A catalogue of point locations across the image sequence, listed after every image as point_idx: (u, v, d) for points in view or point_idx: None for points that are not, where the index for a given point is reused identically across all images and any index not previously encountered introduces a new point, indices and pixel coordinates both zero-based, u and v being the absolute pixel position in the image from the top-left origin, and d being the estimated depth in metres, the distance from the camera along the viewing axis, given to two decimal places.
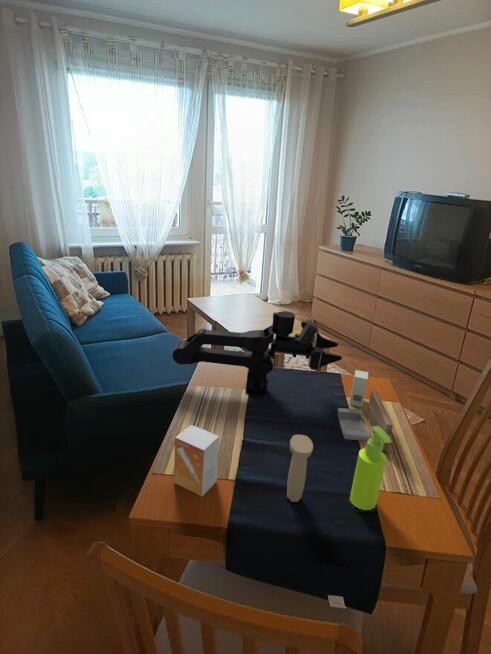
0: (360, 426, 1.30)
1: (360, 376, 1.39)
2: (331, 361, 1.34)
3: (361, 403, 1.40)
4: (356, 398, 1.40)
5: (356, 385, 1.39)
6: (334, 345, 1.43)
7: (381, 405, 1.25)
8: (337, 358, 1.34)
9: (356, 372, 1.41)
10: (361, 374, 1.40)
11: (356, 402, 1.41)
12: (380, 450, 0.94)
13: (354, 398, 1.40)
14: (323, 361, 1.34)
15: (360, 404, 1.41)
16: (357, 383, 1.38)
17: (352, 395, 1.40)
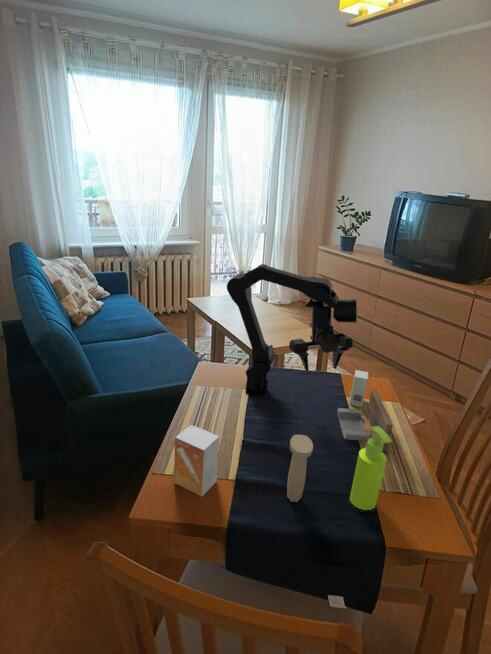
0: (360, 426, 1.30)
1: (360, 376, 1.39)
2: (302, 361, 1.35)
3: (361, 403, 1.40)
4: (356, 398, 1.40)
5: (356, 385, 1.39)
6: (333, 365, 1.37)
7: (381, 405, 1.25)
8: (304, 367, 1.34)
9: (356, 372, 1.41)
10: (361, 374, 1.40)
11: (356, 402, 1.41)
12: (380, 450, 0.94)
13: (354, 398, 1.40)
14: None
15: (360, 404, 1.41)
16: (357, 383, 1.38)
17: (352, 395, 1.40)
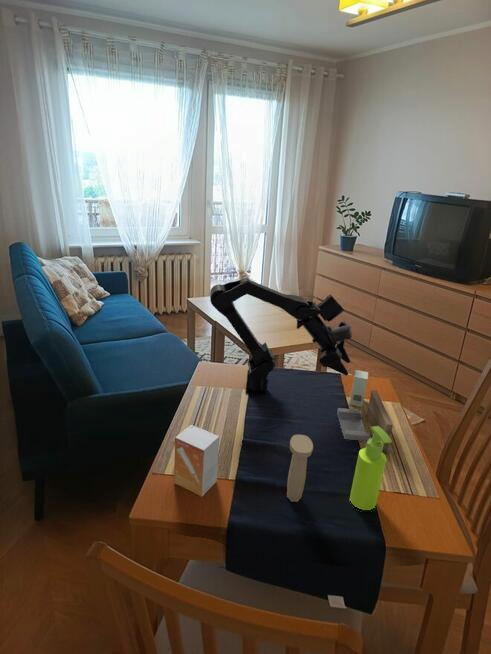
0: (360, 426, 1.30)
1: (360, 376, 1.39)
2: (338, 370, 1.36)
3: (361, 403, 1.40)
4: (356, 398, 1.39)
5: (356, 385, 1.39)
6: (346, 360, 1.44)
7: (381, 405, 1.25)
8: (344, 372, 1.36)
9: (356, 372, 1.41)
10: (361, 374, 1.40)
11: (356, 402, 1.41)
12: (380, 450, 0.94)
13: (354, 398, 1.40)
14: (332, 364, 1.35)
15: (360, 404, 1.41)
16: (357, 383, 1.38)
17: (352, 395, 1.40)
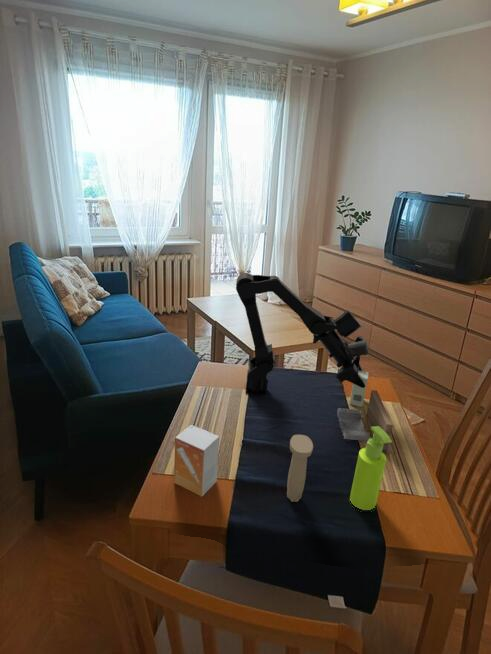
0: (360, 426, 1.30)
1: (360, 376, 1.39)
2: (355, 382, 1.37)
3: (361, 403, 1.40)
4: (356, 398, 1.39)
5: (356, 385, 1.39)
6: None
7: (381, 405, 1.25)
8: (361, 384, 1.37)
9: None
10: (361, 374, 1.40)
11: (356, 402, 1.41)
12: (380, 450, 0.94)
13: (354, 398, 1.40)
14: (349, 377, 1.37)
15: (360, 404, 1.41)
16: None
17: (352, 395, 1.40)
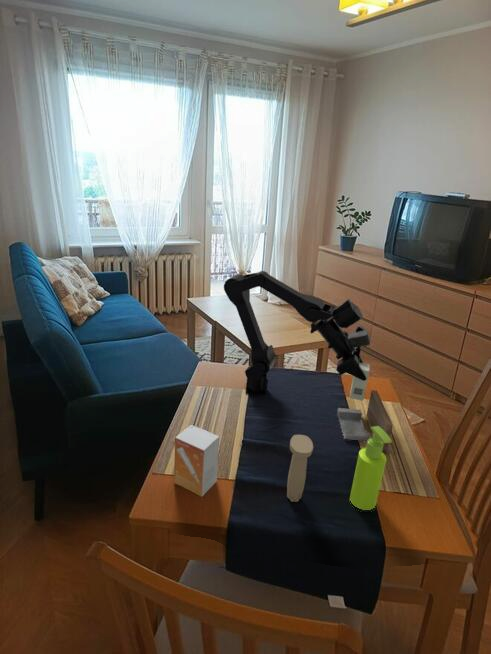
0: (360, 426, 1.30)
1: (361, 368, 1.30)
2: (355, 375, 1.29)
3: (362, 397, 1.32)
4: (357, 392, 1.31)
5: (357, 378, 1.31)
6: None
7: (381, 405, 1.25)
8: (362, 377, 1.29)
9: None
10: (362, 366, 1.32)
11: (357, 396, 1.33)
12: (380, 450, 0.94)
13: (355, 392, 1.31)
14: (350, 369, 1.28)
15: (361, 398, 1.32)
16: None
17: (352, 388, 1.32)
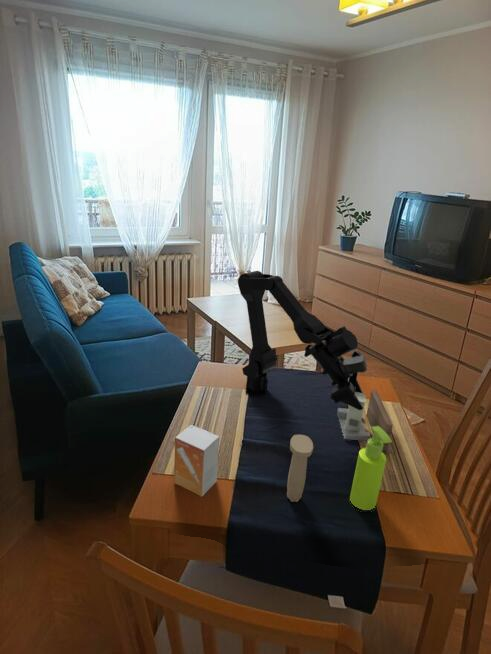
0: (360, 426, 1.30)
1: None
2: (351, 404, 1.22)
3: (358, 428, 1.26)
4: (352, 423, 1.26)
5: (352, 409, 1.25)
6: None
7: (381, 405, 1.25)
8: (358, 406, 1.22)
9: None
10: (357, 396, 1.26)
11: (352, 427, 1.27)
12: (380, 450, 0.94)
13: (350, 423, 1.26)
14: (345, 398, 1.21)
15: (357, 429, 1.27)
16: None
17: (348, 419, 1.26)
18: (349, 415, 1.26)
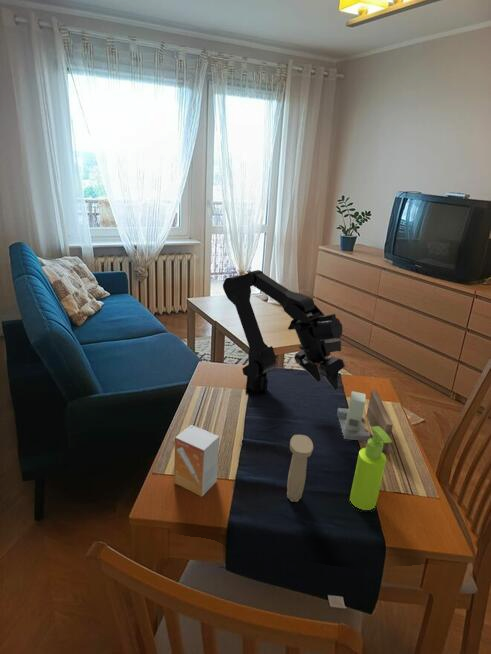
0: (360, 426, 1.30)
1: (356, 398, 1.25)
2: (332, 382, 1.26)
3: (358, 428, 1.26)
4: (352, 423, 1.26)
5: (352, 409, 1.25)
6: (317, 378, 1.36)
7: (381, 405, 1.25)
8: (335, 385, 1.27)
9: (352, 394, 1.27)
10: (357, 396, 1.26)
11: (352, 427, 1.27)
12: (380, 450, 0.94)
13: (350, 423, 1.26)
14: (329, 376, 1.24)
15: (357, 429, 1.27)
16: (354, 406, 1.25)
17: (348, 419, 1.26)
18: (349, 415, 1.26)
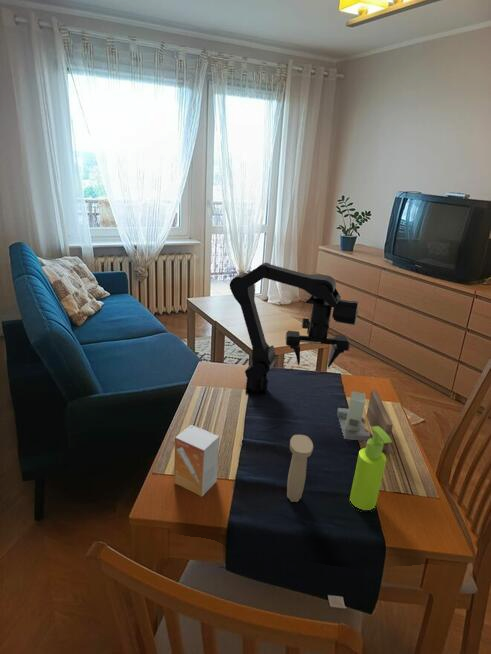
0: (360, 426, 1.30)
1: (356, 398, 1.25)
2: None
3: (358, 428, 1.26)
4: (352, 423, 1.26)
5: (352, 409, 1.25)
6: (299, 361, 1.36)
7: (381, 405, 1.25)
8: None
9: (352, 394, 1.27)
10: (357, 396, 1.26)
11: (352, 427, 1.27)
12: (380, 450, 0.94)
13: (350, 423, 1.26)
14: None
15: (357, 429, 1.27)
16: (354, 406, 1.25)
17: (348, 419, 1.26)
18: (349, 415, 1.26)
